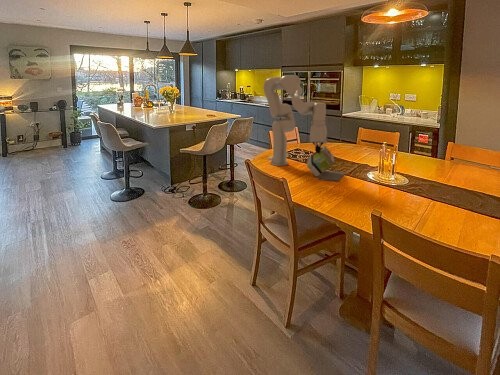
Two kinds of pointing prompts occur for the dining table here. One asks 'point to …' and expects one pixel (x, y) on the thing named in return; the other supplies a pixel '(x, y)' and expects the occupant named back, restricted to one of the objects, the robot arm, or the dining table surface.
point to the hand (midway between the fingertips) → (317, 152)
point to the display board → (331, 176)
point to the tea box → (320, 161)
